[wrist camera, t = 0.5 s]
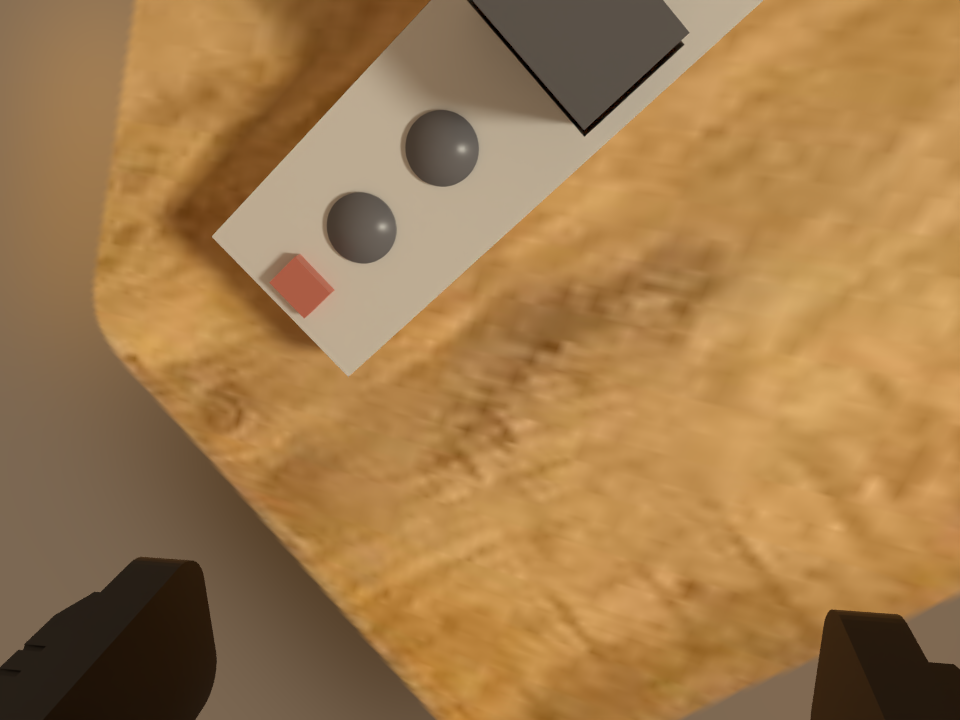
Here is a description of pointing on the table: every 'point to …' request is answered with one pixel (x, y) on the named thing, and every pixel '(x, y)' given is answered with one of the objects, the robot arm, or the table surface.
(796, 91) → the table surface
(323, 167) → the power strip
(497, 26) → the charcoal plug
